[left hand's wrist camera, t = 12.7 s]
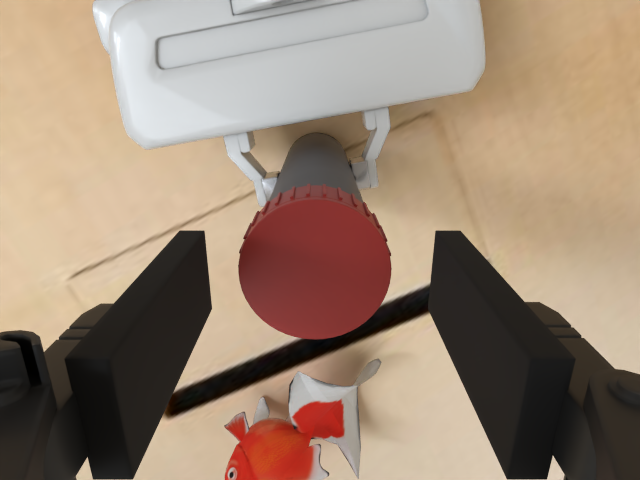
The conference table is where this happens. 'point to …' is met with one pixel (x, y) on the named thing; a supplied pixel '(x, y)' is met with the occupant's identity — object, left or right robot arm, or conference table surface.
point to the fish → (299, 432)
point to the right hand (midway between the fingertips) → (319, 195)
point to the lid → (314, 262)
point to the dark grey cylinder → (316, 166)
